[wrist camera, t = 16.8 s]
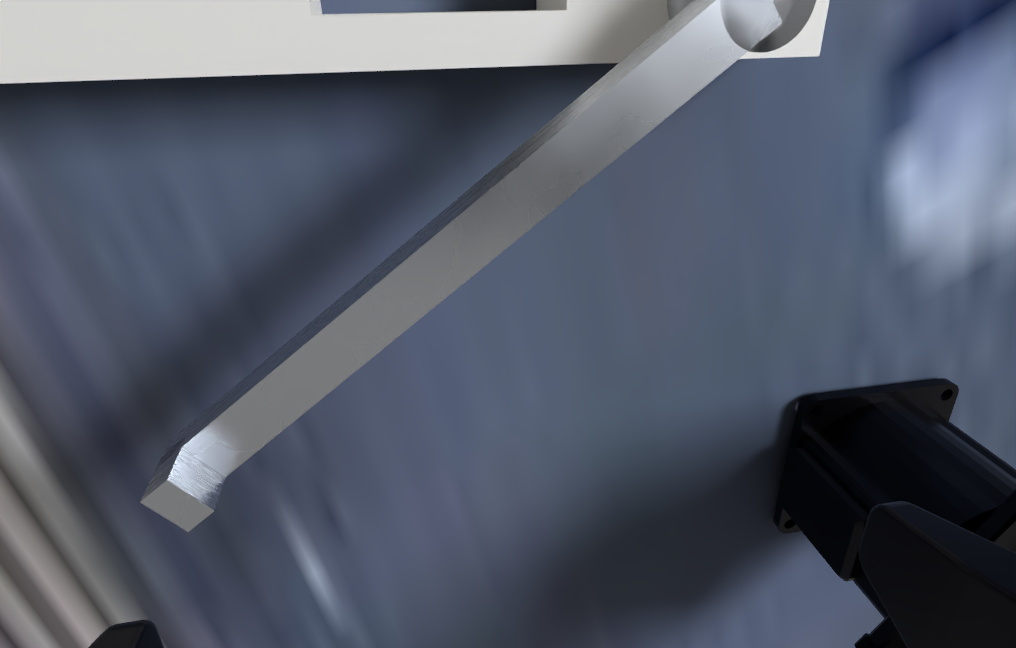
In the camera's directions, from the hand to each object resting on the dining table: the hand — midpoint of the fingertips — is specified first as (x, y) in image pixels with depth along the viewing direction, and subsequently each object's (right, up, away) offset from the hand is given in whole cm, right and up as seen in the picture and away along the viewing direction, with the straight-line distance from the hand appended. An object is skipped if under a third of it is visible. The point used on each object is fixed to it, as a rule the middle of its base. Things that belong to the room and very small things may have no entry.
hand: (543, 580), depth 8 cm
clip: (-1, +5, +6) cm, 8 cm away
